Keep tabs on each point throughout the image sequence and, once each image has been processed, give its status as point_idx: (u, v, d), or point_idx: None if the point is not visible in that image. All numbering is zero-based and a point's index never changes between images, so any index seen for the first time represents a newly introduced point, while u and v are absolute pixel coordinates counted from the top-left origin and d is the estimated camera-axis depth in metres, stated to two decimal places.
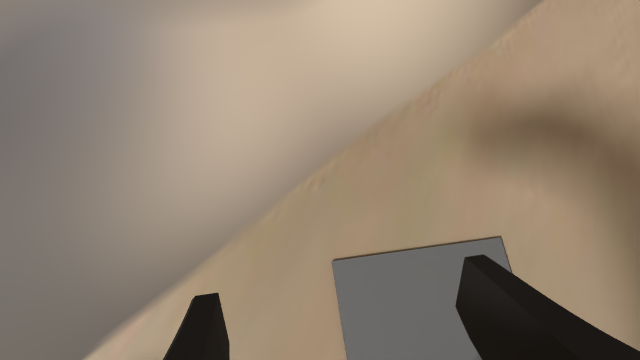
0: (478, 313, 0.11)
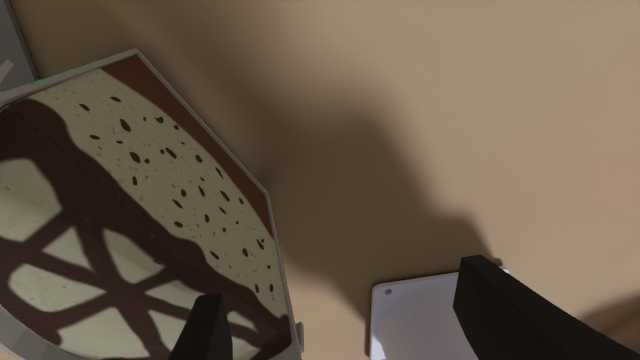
0: (475, 313, 0.11)
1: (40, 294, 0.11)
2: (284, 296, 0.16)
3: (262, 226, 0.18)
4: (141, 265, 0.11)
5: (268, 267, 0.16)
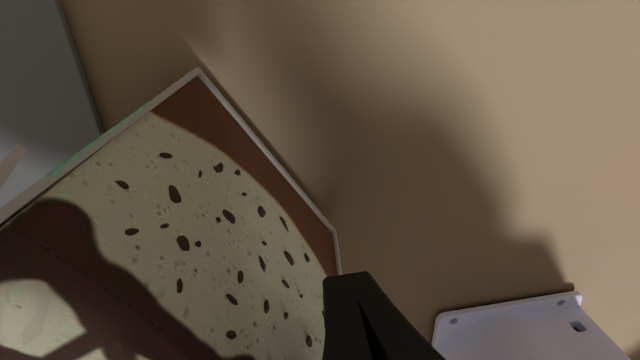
0: None
1: None
2: None
3: None
4: None
5: None
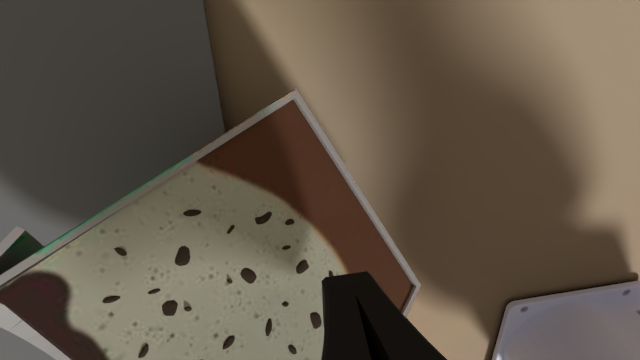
0: None
1: None
2: None
3: None
4: None
5: None
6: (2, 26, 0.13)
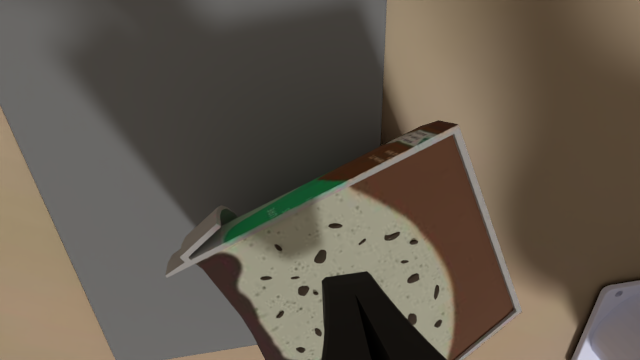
0: None
1: None
2: None
3: (444, 350, 0.16)
4: None
5: None
6: (206, 14, 0.14)
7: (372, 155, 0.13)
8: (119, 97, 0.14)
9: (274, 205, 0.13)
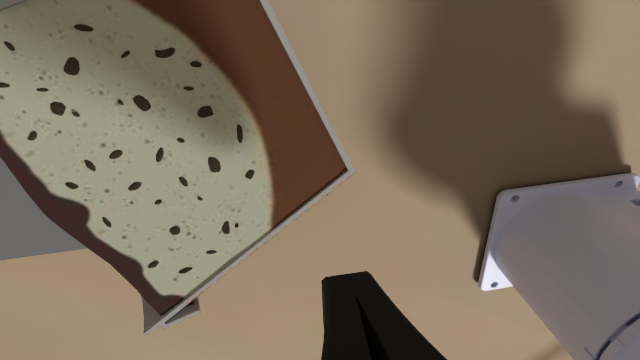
0: None
1: None
2: (205, 282, 0.15)
3: (265, 210, 0.15)
4: None
5: (208, 253, 0.15)
6: None
7: None
8: None
9: None
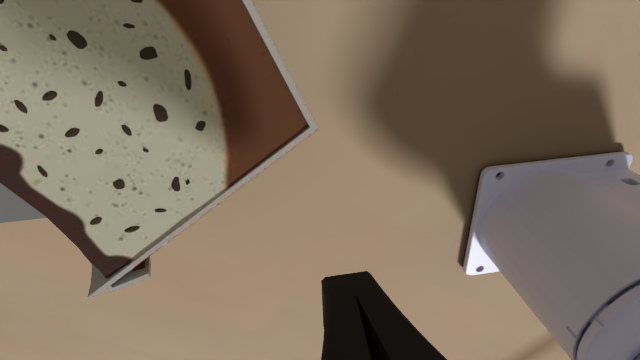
0: None
1: None
2: (154, 243, 0.14)
3: (219, 166, 0.14)
4: None
5: (157, 211, 0.14)
6: None
7: None
8: None
9: None
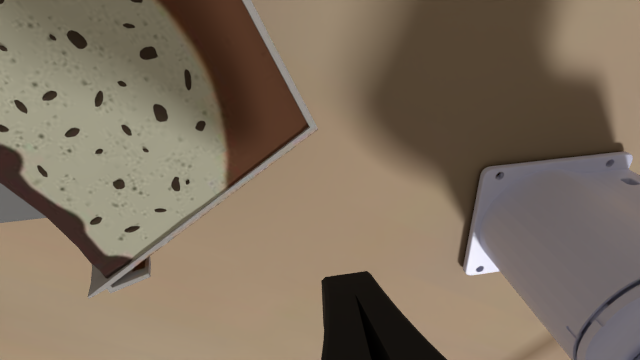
0: None
1: None
2: (154, 243, 0.14)
3: (219, 166, 0.14)
4: None
5: (157, 211, 0.14)
6: None
7: None
8: None
9: None
